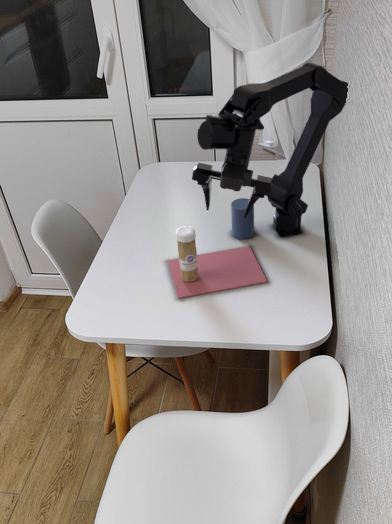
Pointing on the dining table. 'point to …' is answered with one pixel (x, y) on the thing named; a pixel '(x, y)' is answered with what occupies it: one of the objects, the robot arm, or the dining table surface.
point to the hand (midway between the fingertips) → (226, 213)
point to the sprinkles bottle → (187, 253)
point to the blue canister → (242, 219)
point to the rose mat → (219, 272)
